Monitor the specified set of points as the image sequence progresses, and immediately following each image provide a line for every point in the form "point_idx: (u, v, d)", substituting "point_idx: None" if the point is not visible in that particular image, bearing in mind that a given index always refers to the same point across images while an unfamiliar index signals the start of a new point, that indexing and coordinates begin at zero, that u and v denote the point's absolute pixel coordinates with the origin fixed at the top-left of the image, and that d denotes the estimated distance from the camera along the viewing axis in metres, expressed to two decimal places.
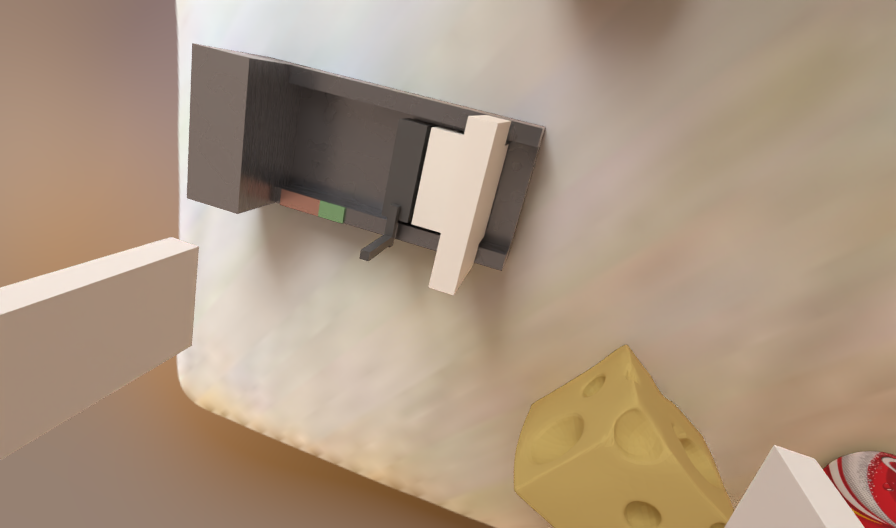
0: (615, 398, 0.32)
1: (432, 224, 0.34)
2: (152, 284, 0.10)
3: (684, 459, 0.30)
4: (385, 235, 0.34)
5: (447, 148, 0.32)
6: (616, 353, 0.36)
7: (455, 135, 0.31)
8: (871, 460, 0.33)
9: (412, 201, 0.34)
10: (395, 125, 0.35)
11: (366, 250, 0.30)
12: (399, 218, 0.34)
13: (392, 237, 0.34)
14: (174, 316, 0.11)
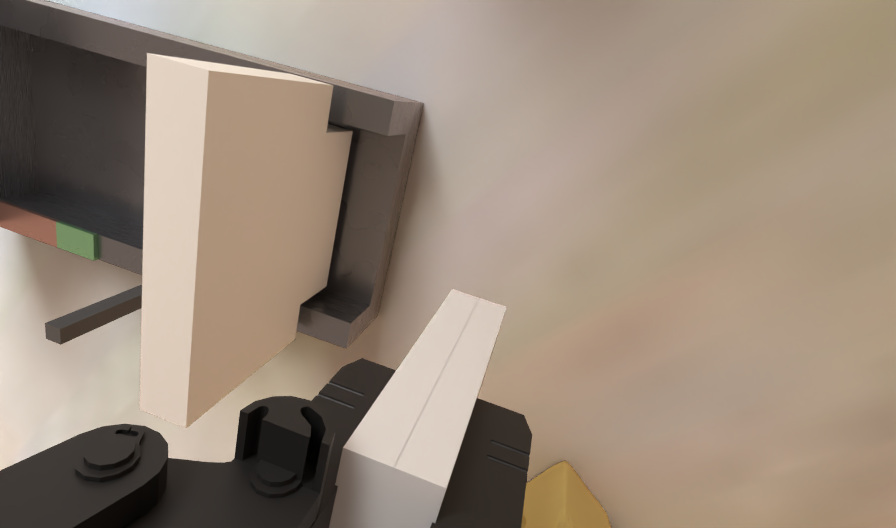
0: None
1: None
2: None
3: None
4: None
5: None
6: (548, 477, 0.22)
7: None
8: None
9: None
10: None
11: (57, 324, 0.16)
12: None
13: None
14: None
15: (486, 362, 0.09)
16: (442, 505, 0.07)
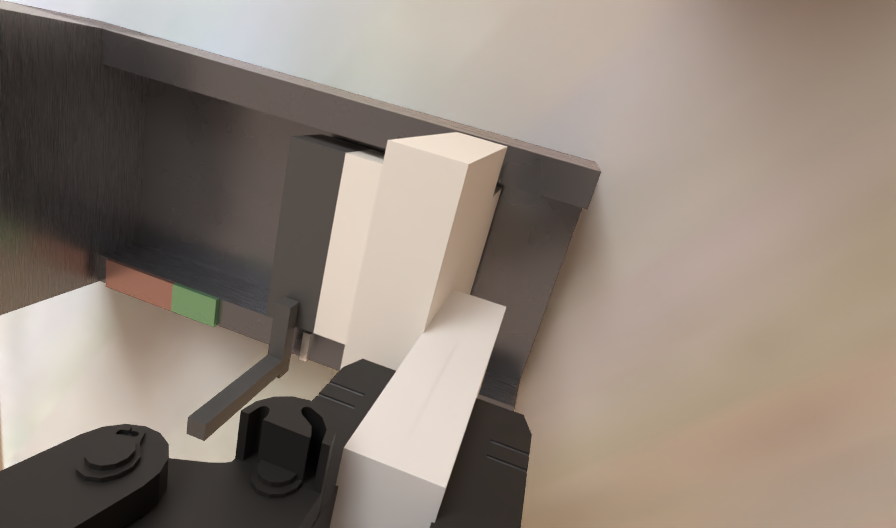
0: None
1: None
2: None
3: None
4: (269, 357, 0.18)
5: None
6: None
7: None
8: None
9: None
10: None
11: (200, 417, 0.14)
12: (298, 323, 0.18)
13: (284, 360, 0.18)
14: None
15: (485, 362, 0.09)
16: (441, 505, 0.07)
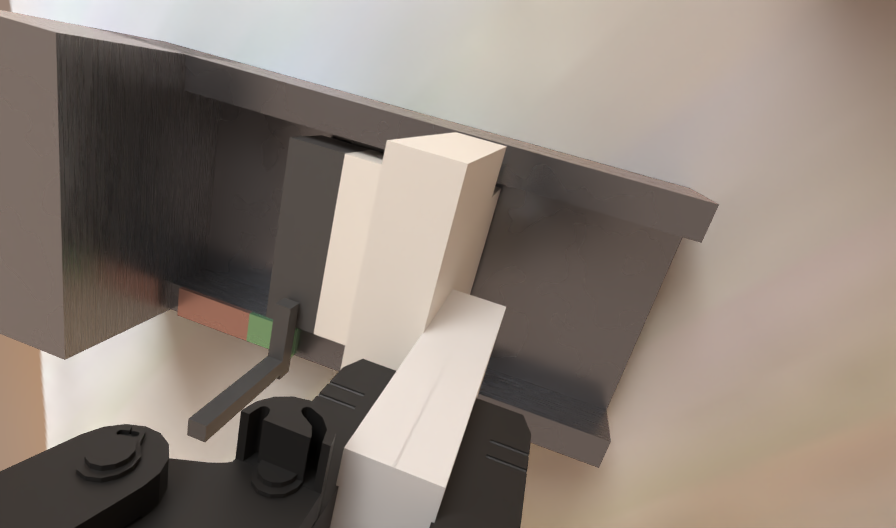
0: None
1: None
2: None
3: None
4: (269, 358, 0.18)
5: None
6: None
7: None
8: None
9: None
10: None
11: (201, 419, 0.14)
12: (298, 325, 0.18)
13: (284, 361, 0.18)
14: None
15: (485, 362, 0.09)
16: (441, 505, 0.07)
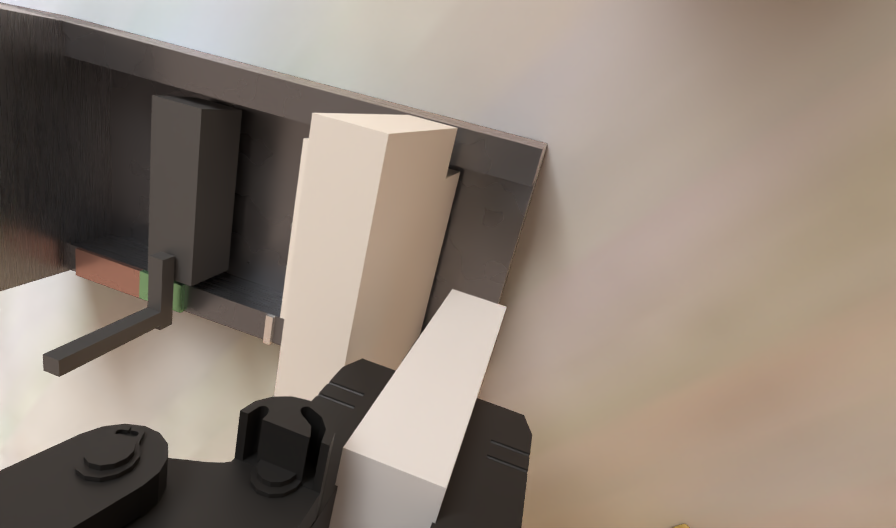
0: None
1: None
2: None
3: None
4: (148, 309, 0.19)
5: None
6: None
7: None
8: None
9: (196, 248, 0.18)
10: (273, 137, 0.19)
11: (55, 355, 0.15)
12: (177, 278, 0.19)
13: (163, 312, 0.19)
14: None
15: (486, 362, 0.09)
16: (442, 505, 0.07)
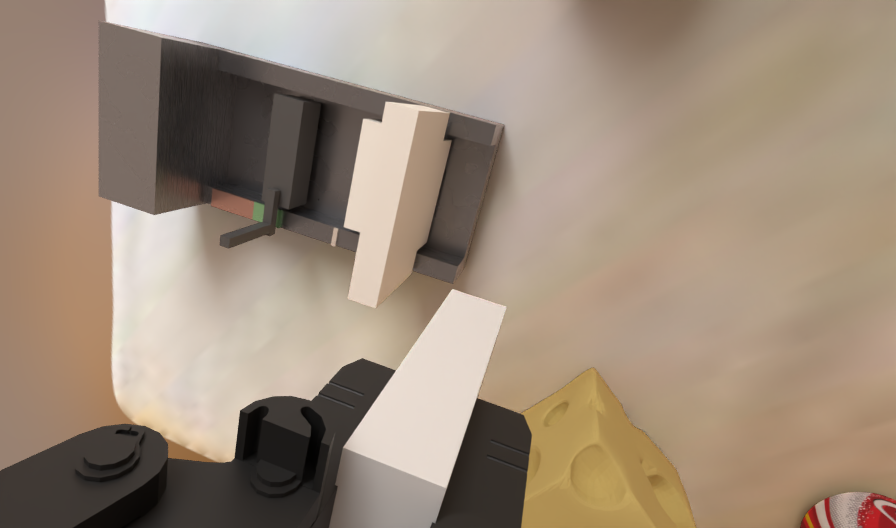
0: (575, 430, 0.28)
1: None
2: None
3: (651, 503, 0.27)
4: (263, 222, 0.31)
5: None
6: (581, 377, 0.33)
7: None
8: (862, 502, 0.30)
9: (293, 185, 0.31)
10: (338, 120, 0.31)
11: (227, 236, 0.27)
12: (280, 204, 0.31)
13: (272, 225, 0.31)
14: None
15: (486, 362, 0.09)
16: (442, 505, 0.07)
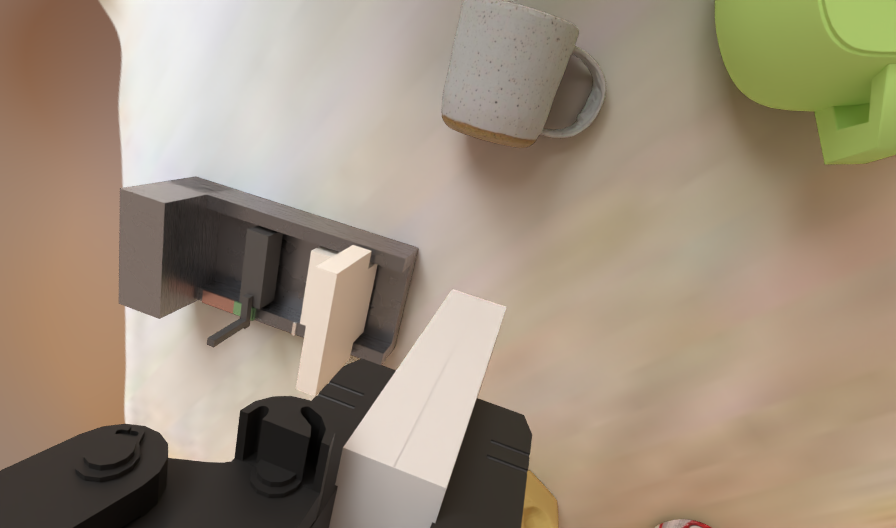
0: None
1: None
2: None
3: None
4: (240, 319, 0.41)
5: None
6: None
7: (329, 258, 0.39)
8: (681, 527, 0.41)
9: (262, 292, 0.41)
10: (296, 241, 0.42)
11: (212, 338, 0.38)
12: (253, 305, 0.42)
13: (247, 320, 0.42)
14: None
15: (486, 362, 0.09)
16: (442, 505, 0.07)
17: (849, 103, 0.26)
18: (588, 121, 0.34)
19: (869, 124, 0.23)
